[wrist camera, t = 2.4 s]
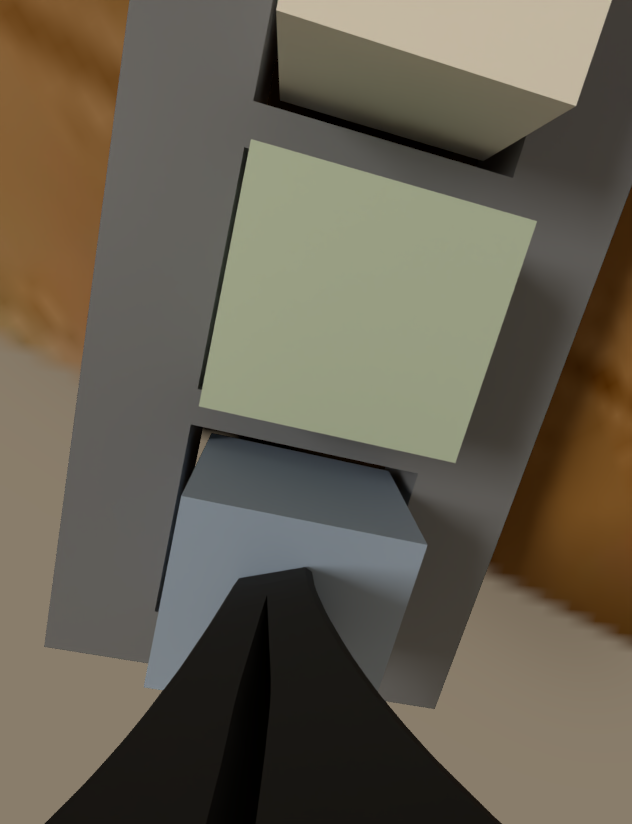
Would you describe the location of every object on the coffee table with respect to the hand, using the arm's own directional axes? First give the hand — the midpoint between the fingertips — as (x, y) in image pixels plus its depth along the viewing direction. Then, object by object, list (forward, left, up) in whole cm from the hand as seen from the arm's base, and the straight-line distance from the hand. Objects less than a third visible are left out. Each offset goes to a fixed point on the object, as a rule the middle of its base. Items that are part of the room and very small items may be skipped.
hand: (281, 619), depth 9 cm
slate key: (0, 0, -4) cm, 4 cm away
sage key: (0, -6, -4) cm, 7 cm away
